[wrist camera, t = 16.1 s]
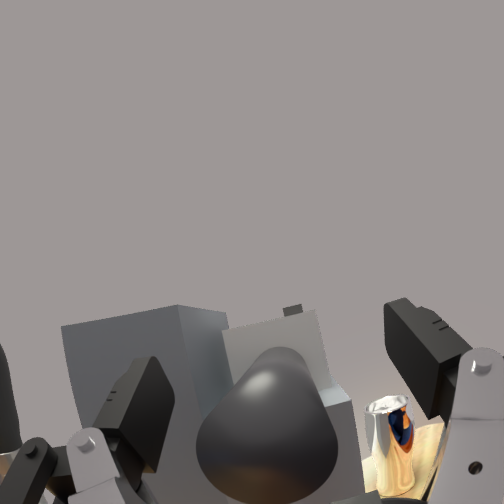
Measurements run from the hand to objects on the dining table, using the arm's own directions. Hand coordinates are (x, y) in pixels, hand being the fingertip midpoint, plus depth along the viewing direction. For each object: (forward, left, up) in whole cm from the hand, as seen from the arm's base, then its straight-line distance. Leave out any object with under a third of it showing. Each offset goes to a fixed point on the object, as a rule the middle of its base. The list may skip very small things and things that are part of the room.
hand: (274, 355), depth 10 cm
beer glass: (+11, +28, -29) cm, 42 cm away
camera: (-1, +9, -5) cm, 10 cm away
